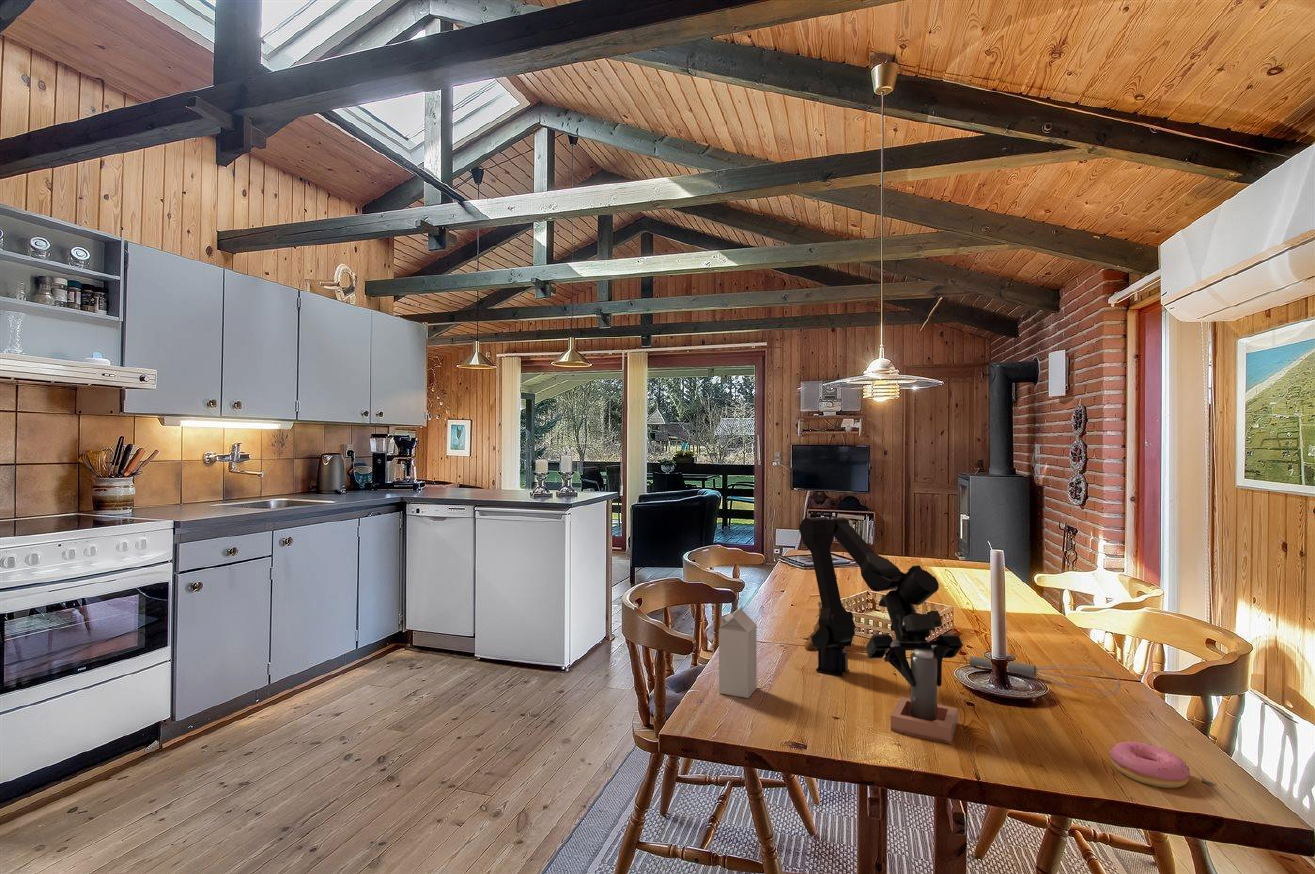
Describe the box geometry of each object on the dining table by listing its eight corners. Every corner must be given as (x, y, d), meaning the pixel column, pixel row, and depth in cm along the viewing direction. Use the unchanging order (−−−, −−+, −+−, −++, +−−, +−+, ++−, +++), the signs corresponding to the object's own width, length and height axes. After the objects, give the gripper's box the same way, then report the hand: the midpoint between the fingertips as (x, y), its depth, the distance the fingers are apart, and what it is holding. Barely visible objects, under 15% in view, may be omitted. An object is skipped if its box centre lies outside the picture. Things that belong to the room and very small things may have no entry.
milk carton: (756, 688, 144) (756, 607, 145) (748, 699, 138) (748, 614, 138) (728, 683, 147) (728, 604, 148) (718, 693, 141) (718, 611, 141)
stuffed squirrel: (803, 650, 172) (803, 603, 172) (817, 637, 184) (817, 593, 184) (839, 656, 166) (838, 608, 167) (851, 642, 179) (851, 597, 179)
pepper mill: (908, 717, 123) (908, 652, 124) (912, 708, 128) (912, 646, 128) (935, 723, 121) (935, 657, 121) (938, 713, 125) (938, 650, 125)
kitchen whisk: (965, 661, 163) (964, 637, 164) (1122, 696, 141) (1122, 668, 141) (958, 667, 159) (958, 643, 159) (1119, 704, 136) (1119, 676, 136)
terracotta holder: (890, 730, 122) (890, 715, 122) (900, 710, 132) (900, 696, 132) (951, 744, 116) (951, 728, 116) (957, 722, 126) (957, 708, 126)
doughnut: (1130, 788, 102) (1130, 763, 102) (1097, 756, 112) (1097, 733, 112) (1206, 796, 99) (1206, 770, 99) (1165, 762, 110) (1164, 739, 110)
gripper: (871, 596, 128) (892, 667, 117) (958, 596, 129) (988, 667, 117) (857, 623, 136) (877, 692, 125) (940, 622, 136) (966, 691, 125)
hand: (926, 685), depth 123 cm, fingers closed on pepper mill, 5 cm apart
